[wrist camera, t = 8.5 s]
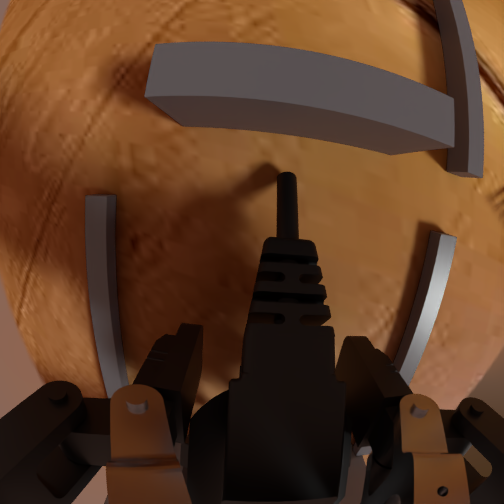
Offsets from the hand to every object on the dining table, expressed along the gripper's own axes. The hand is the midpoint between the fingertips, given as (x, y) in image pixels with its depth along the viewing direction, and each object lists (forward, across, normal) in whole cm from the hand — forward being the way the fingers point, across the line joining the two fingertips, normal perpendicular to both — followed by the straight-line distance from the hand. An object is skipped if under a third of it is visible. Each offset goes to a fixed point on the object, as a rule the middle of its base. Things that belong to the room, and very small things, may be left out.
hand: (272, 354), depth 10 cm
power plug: (+1, 0, 0) cm, 1 cm away
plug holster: (+2, -2, -16) cm, 16 cm away
